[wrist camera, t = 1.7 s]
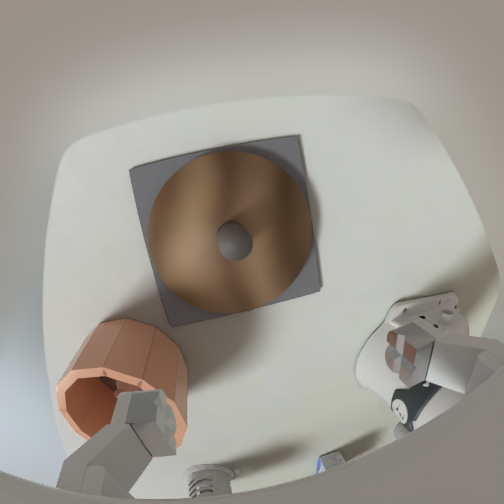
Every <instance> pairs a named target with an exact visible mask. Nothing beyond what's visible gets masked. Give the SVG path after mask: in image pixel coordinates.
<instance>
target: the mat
mask: <svg viewBox="0 0 504 504" xmlns="http://www.w3.org/2000/svg"><path fill="white" fill-rule="evenodd" d="M223 151H240V152H246V153H251V154H254V155H258V156H261V157H263V158H265V159H267V160H269V161H271V162H273V163H274V164H276V165H278V166H279V167H280V168H281V169H283V170H284V171H285V172H286V173H287V174H288V175H289V176H290V177H291V178H292V179H293V180H294V181H295V183H296V184H297V186H298V187H299V189H300V190H301V192H302V194H303V196H304V198H305V200H306V203H307V206H308V209H309V213H310V207H309V201H308V194H307V188H306V182H305V176H304V170H303V165H302V159H301V154H300V148H299V143H298V138H297V136H295V137H286V138H278V139H271V140H264V141H257V142H251V143H245V144H239V145H233V146H228V147H222V148H217V149H212V150H207V151H202V152H197V153H193V154H188V155H184V156H180V157H175V158H171V159H167V160H163V161H159V162H155V163H152V164H148V165H144V166H140V167H137V168H133V169H130V170H129V173H130V178H131V183H132V188H133V193H134V197H135V202H136V207H137V211H138V215H139V219H140V224H141V228H142V232H143V236H144V240H145V243H146V247H147V251H148V255H149V258H150V262H151V265H152V269H153V272H154V276H155V279H156V282H157V286H158V289H159V292H160V295H161V299H162V302H163V305H164V308H165V311H166V314H167V317H168V320H169V323H170V325H171V327H174V326H179V325H184V324H188V323H193V322H198V321H203V320H207V319H212V318H216V317H221V316H225V315H229V314H234V313H217V312H212V311H207V310H204V309H201V308H198V307H196V306H193V305H191V304H189V303H188V302H186V301H184V300H183V299H181V298H180V297H179V296H177V295H176V294H175V293H174V292H173V291H172V290H171V289H170V288H169V287H168V286H167V285H166V284H165V283H164V281H163V280H162V278H161V277H160V275H159V274H158V272H157V270H156V268H155V266H154V263H153V261H152V258H151V255H150V250H149V245H148V222H149V217H150V213H151V209H152V206H153V204H154V201H155V199H156V197H157V195H158V193H159V191H160V190H161V188H162V187H163V186H164V184H165V183H166V181H167V180H168V179H169V178H170V177H171V176H172V175H173V174H174V173H175V172H176V171H178V170H179V169H180V168H181V167H183V166H184V165H186V164H187V163H189V162H191V161H192V160H194V159H197V158H199V157H202V156H204V155H208V154H211V153H215V152H223ZM310 218H311V214H310ZM311 228H312V221H311ZM319 291H320V285H319V275H318V267H317V258H316V250H315V242H314V235H313V228H312V232H311V243H310V249H309V252H308V256H307V259H306V261H305V264H304V266H303V268H302V270H301V271H300V273H299V275H298V276H297V278H296V279H295V280H294V282H293V283H292V284H291V285H290V286H289V287H288V288H287V289H286V290H285V291H284V292H283V293H282V294H281V295H279V296H278V297H277V298H276V299H274V300H272V301H271V302H269V303H267V304H265V305H263V306H267V305H271V304H275V303H278V302H282V301H286V300H290V299H294V298H297V297H301V296H305V295H308V294H312V293H316V292H319ZM263 306H261V307H263Z"/></svg>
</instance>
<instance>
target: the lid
mask: <svg viewBox="0 0 504 504" xmlns="http://www.w3.org/2000/svg"><path fill="white" fill-rule="evenodd" d="M311 232H312V228H311V218H310V213H309V209H308V206H307V203H306V200H305V198H304V196H303V194H302V192H301V190H300V189H299V187H298V186H297V184H296V183H295V181H294V180H293V179H292V178H291V177H290V176H289V175H288V174H287V173H286V172H285V171H284V170H283V169H281V168H280V167H279V166H278V165H276V164H274V163H273V162H271V161H269V160H267V159H265V158H263V157H261V156H258V155H254V154H251V153H246V152H240V151H223V152H215V153H211V154H208V155H204V156H202V157H199V158H197V159H194V160H192V161H191V162H189V163H187V164H186V165H184V166H183V167H181V168H180V169H179V170H178V171H176V172H175V173H174V174H173V175H172V176H171V177H170V178H169V179H168V180H167V181H166V183H165V184H164V186H163V187H162V188H161V190H160V191H159V193H158V195H157V197H156V199H155V201H154V204H153V206H152V209H151V213H150V217H149V222H148V245H149V250H150V255H151V258H152V261H153V263H154V266H155V268H156V270H157V272H158V274H159V275H160V277H161V278H162V280H163V281H164V283H165V284H166V285H167V286H168V287H169V288H170V289H171V290H172V291H173V292H174V293H175V294H176V295H177V296H179V297H180V298H181V299H183V300H184V301H186V302H188V303H189V304H191V305H193V306H196V307H198V308H201V309H204V310H207V311H212V312H217V313H239V312H245V311H249V310H253V309H256V308H259V307H261V306H263V305H265V304H267V303H269V302H271V301H272V300H274V299H276V298H277V297H278V296H279V295H281V294H282V293H283V292H284V291H285V290H286V289H287V288H288V287H289V286H290V285H291V284H292V283H293V282H294V280H295V279H296V278H297V276H298V275H299V273H300V271H301V270H302V268H303V266H304V264H305V261H306V259H307V256H308V252H309V249H310V243H311Z"/></svg>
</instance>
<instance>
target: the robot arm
mask: <svg viewBox="0 0 504 504" xmlns="http://www.w3.org/2000/svg"><path fill="white" fill-rule="evenodd" d="M356 378H357V380H358V382H359V384H360V385H361V386H363V387H364V388H366V389H368V390H370V391H371V392H373V393H374V394H376V395H377V396H378V397H380V398H381V399H382V400H383V401H384V402H385V403H387V404H388V405H389V406H390V407H391V409H392V411H393V412H394V414H395V415H396V417H397V418H398V419H399V421H400V422H401V423H402V424H403V426H404V427H405V428H406V429H407V430H408V431H409V432H410V433H408V434H407V435H405V436H403V437H401V438H399V439H397V440H395V441H393V442H391V443H389V444H388V445H385V446H383V447H381V448H379V449H377V450H375V451H373V452H371V453H369V454H366V455H364V456H362V457H359V458H357V459H355V460H352V461H350V462H347V463H345V464H342V465H340V466H337V467H334V468H332V469H329V470H326V471H323V472H320V473H317V474H314V475H311V476H308V477H304V478H301V479H298V480H294V481H290V482H287V483H283V484H279V485H275V486H270V487H266V488H261V489H256V490H251V491H246V492H240V493H234V494H227V495H219V496H210V497H200V498H186V499H135V498H134V497H133V496H132V495H131V494H130V493H129V491H130V489H131V488H132V486H133V485H134V484H135V482H136V481H137V480H138V478H139V477H140V475H141V474H142V473H143V471H144V470H145V468H146V467H147V466H148V464H149V463H150V461H151V460H152V457H160V456H171V455H176V439H175V437H174V436H173V434H174V433H175V432H176V419H175V415H174V412H173V409H172V407H171V406H170V405H168V404H167V403H166V401H167V397H166V395H165V393H164V391H163V390H162V389H155V390H143V391H131V392H121V393H120V394H119V396H118V400H117V403H116V406H115V410H114V413H113V417H112V420H111V424H107V425H105V426H104V427H103V428H102V429H101V430H100V431H99V432H97V433H96V434H95V435H94V436H93V437H92V438H90V439H89V440H88V441H87V442H86V443H85V444H83V445H82V446H81V447H80V448H79V449H78V450H76V451H75V452H74V453H73V454H72V455H71V456H69V457H68V458H67V459H66V460H65V461H64V463H63V466H62V469H61V472H60V476H59V479H58V482H57V486H56V488H54V487H50V486H46V485H43V484H39V483H35V482H32V481H29V480H25V479H22V478H19V477H16V476H13V475H11V474H8V473H5V472H2V471H0V504H504V344H503V343H502V342H500V341H499V340H496V339H488V338H480V337H473V336H469V324H468V321H467V319H466V318H465V316H464V315H462V314H461V313H460V312H459V300H458V296H457V294H455V293H454V292H449V293H444V294H439V295H434V296H429V297H424V298H419V299H413V300H407V301H402V302H397V303H395V304H394V305H393V306H392V308H391V309H390V311H389V313H388V315H387V316H386V318H385V320H384V322H383V323H382V325H381V326H380V327H379V328H378V329H377V330H376V331H375V332H374V333H373V334H372V336H371V337H370V338H369V339H368V341H367V342H366V344H365V345H364V347H363V349H362V351H361V353H360V355H359V357H358V360H357V364H356Z"/></svg>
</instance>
